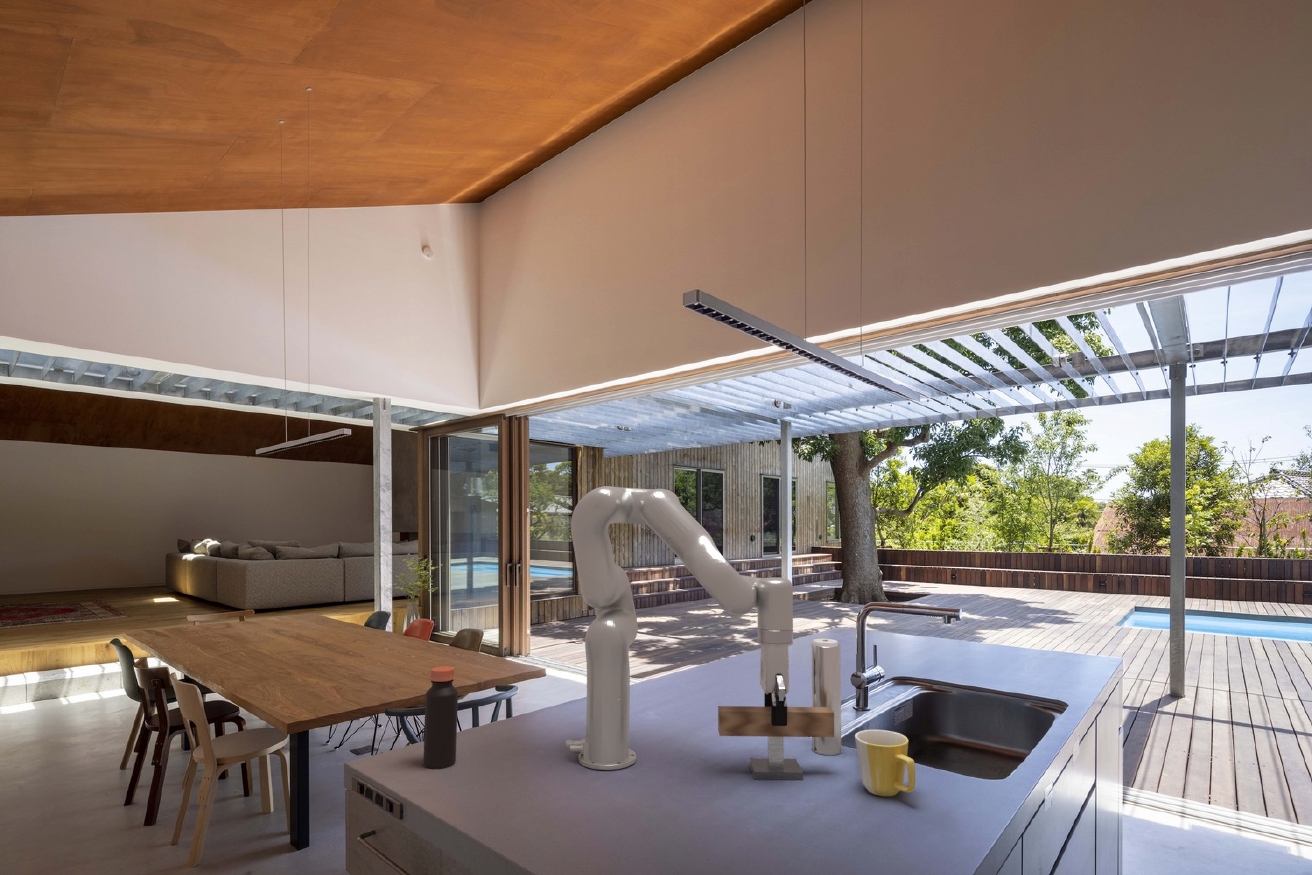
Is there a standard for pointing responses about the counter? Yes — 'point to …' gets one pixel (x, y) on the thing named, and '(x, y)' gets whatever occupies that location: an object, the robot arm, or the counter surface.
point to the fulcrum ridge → (775, 764)
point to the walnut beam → (759, 724)
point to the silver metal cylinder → (827, 691)
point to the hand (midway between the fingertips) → (775, 718)
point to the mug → (884, 762)
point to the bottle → (440, 719)
